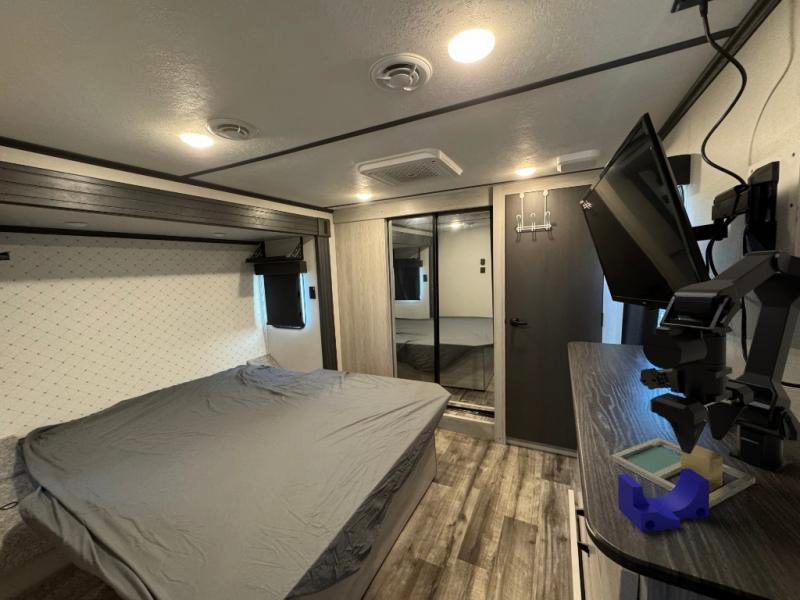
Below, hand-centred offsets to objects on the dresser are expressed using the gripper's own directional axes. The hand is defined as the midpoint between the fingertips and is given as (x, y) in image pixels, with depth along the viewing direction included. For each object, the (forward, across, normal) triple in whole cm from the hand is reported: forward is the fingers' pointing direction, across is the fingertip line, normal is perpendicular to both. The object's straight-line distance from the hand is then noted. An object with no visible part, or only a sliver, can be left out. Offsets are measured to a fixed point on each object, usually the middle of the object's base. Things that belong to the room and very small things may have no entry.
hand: (701, 445), depth 54 cm
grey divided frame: (+7, 0, -4) cm, 7 cm away
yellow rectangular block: (+7, 0, 0) cm, 7 cm away
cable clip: (+7, +14, +2) cm, 16 cm away
